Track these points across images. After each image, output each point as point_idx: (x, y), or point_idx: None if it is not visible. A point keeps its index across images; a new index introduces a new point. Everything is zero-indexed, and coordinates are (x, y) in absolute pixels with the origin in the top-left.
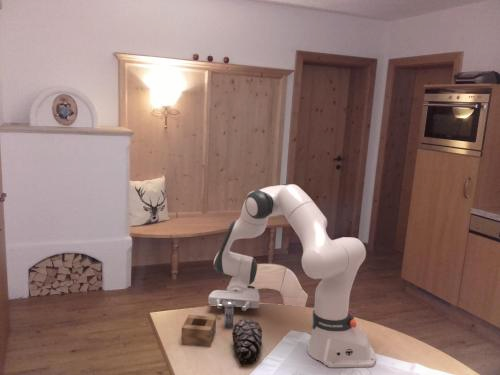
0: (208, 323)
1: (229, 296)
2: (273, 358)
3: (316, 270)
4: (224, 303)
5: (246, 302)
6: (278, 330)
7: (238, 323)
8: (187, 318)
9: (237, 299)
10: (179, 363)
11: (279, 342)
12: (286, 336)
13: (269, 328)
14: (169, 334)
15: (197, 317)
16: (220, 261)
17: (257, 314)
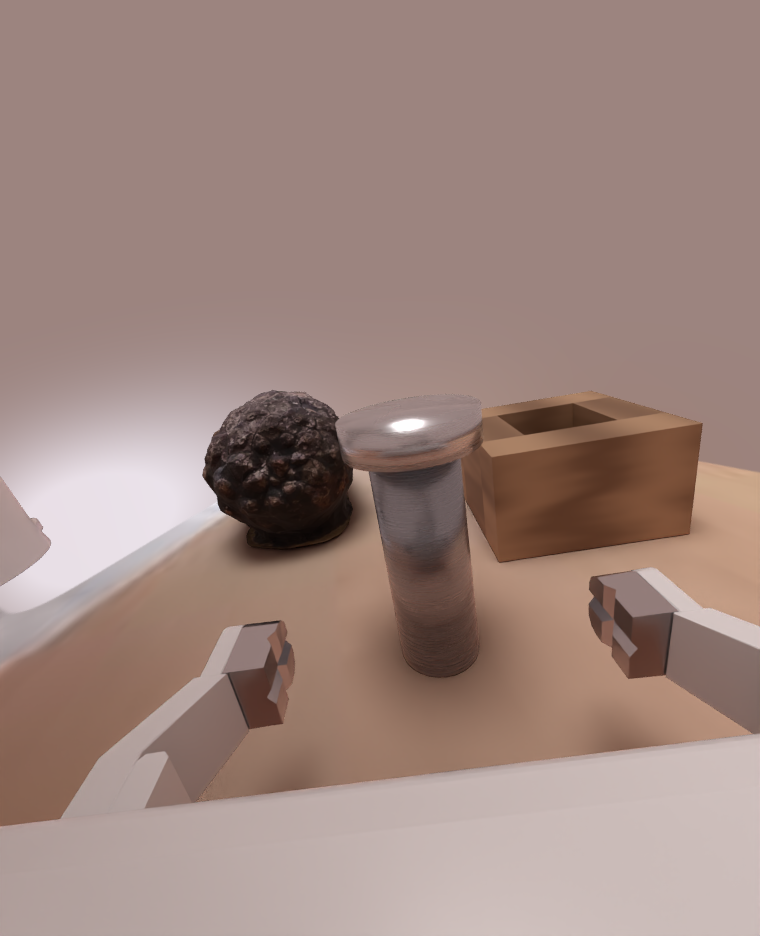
0: (492, 425)
1: (686, 878)
2: (207, 511)
3: None
4: (441, 396)
5: (164, 750)
6: (18, 707)
7: (314, 399)
8: (653, 411)
9: (363, 785)
10: None
11: (120, 587)
12: (26, 647)
13: (76, 717)
14: (734, 485)
15: (606, 427)
16: None
17: None
